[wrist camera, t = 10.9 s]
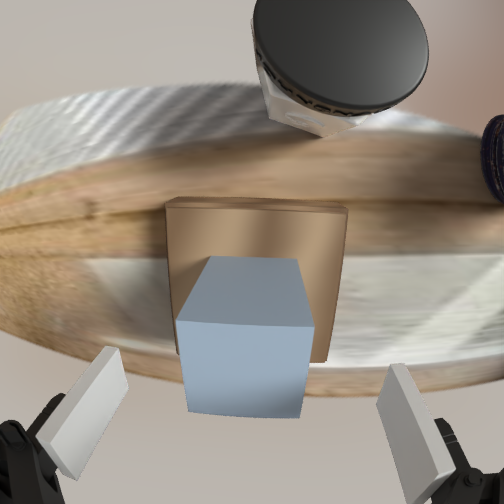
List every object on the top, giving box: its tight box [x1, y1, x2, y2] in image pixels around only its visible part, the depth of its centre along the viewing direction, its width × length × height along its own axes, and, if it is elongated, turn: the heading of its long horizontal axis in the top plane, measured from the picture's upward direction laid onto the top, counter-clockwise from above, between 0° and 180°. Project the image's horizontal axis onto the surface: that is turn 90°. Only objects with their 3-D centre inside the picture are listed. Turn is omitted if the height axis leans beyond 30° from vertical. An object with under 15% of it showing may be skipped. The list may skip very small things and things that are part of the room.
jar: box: [251, 0, 429, 137], centre depth 15 cm, size 9×8×12 cm
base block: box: [165, 197, 348, 363], centre depth 24 cm, size 13×13×4 cm
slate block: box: [176, 256, 315, 418], centre depth 18 cm, size 6×6×9 cm
